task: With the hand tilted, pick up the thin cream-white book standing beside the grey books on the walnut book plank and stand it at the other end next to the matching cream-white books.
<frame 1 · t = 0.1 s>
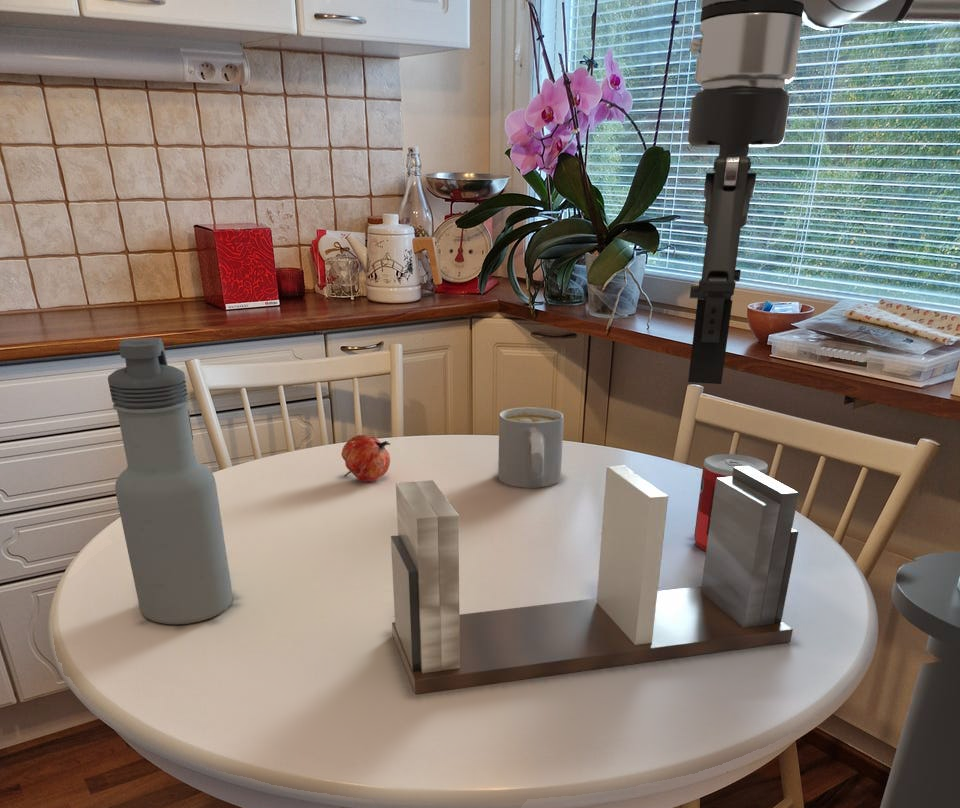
hand: (706, 368, 77), 26 cm above the table, tool pointing down, fingers open, 13 cm apart
book shelf: (590, 638, 87), on the table
pomegranate: (366, 481, 134), on the table
canned food: (723, 547, 110), on the table
coffee mug: (528, 482, 133), on the table
water bottle: (188, 607, 93), on the table
white book: (622, 621, 87), point 1 cm above the table, touching book shelf
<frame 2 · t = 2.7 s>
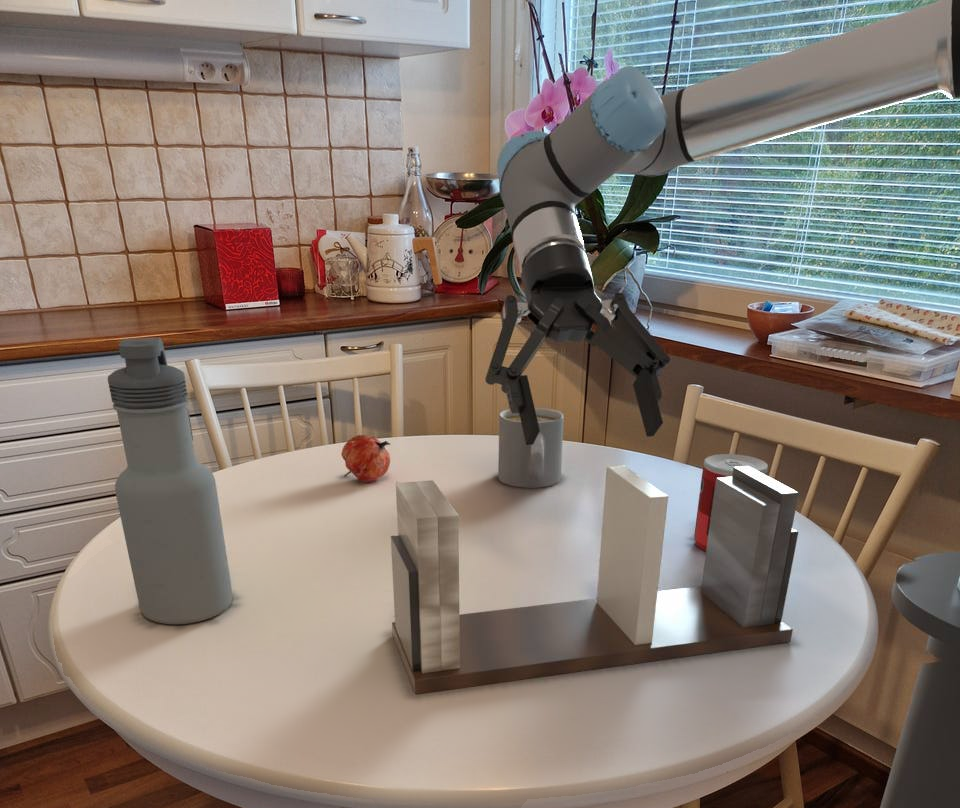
hand: (595, 434, 88), 18 cm above the table, tool tilted 45°, fingers open, 13 cm apart
nothing on the table moved.
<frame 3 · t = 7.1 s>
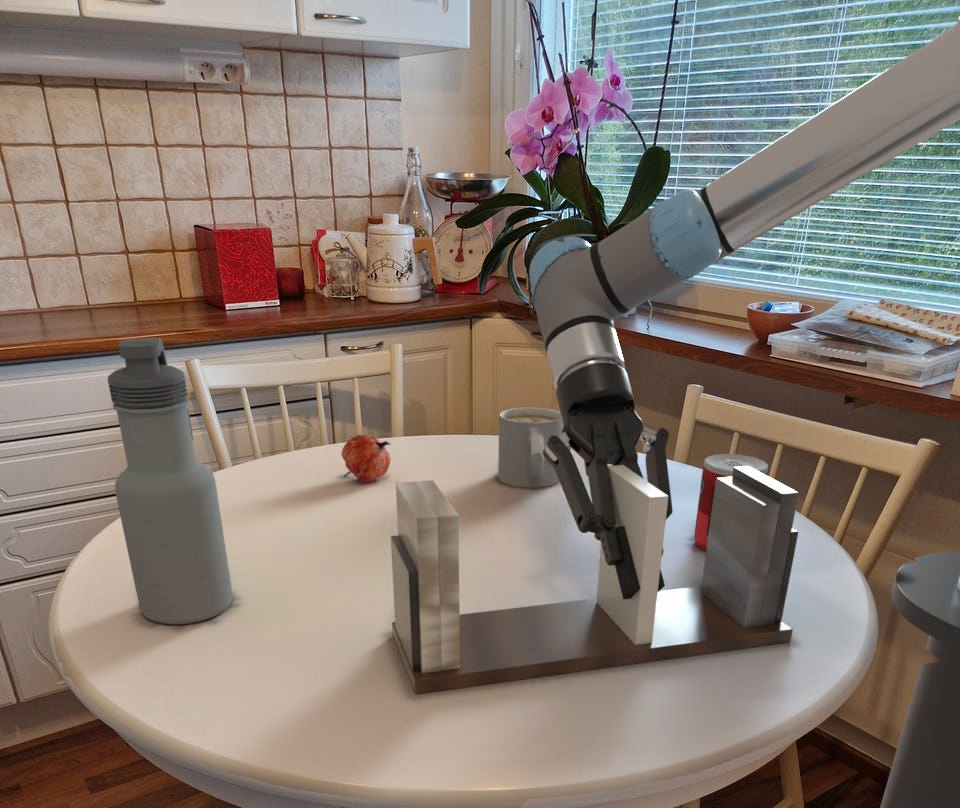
hand: (643, 592, 81), 7 cm above the table, tool tilted 45°, fingers closed on white book, 2 cm apart
white book: (622, 621, 87), point 1 cm above the table, touching book shelf, gripper
everything else where it was.
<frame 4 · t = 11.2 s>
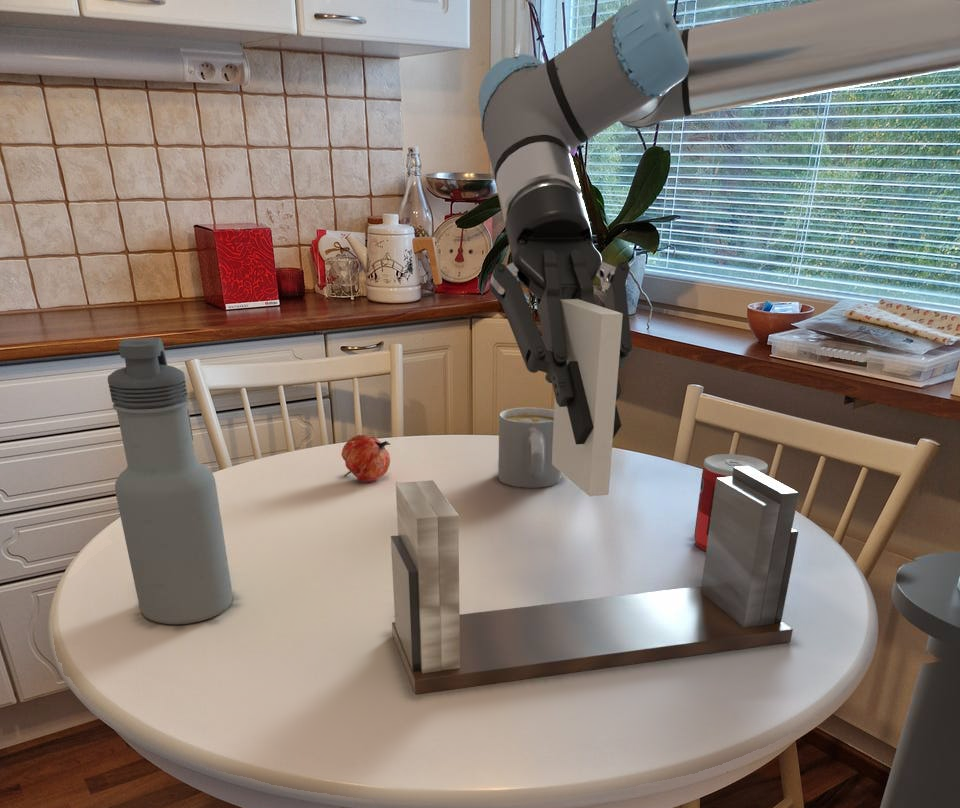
hand: (598, 434, 73), 22 cm above the table, tool tilted 45°, fingers closed on white book, 2 cm apart
white book: (578, 478, 78), point 17 cm above the table, touching gripper
everything else where it was.
when the fingers open (7 cm above the table, at t = 15.7 s): white book stays where it is, resting on book shelf.
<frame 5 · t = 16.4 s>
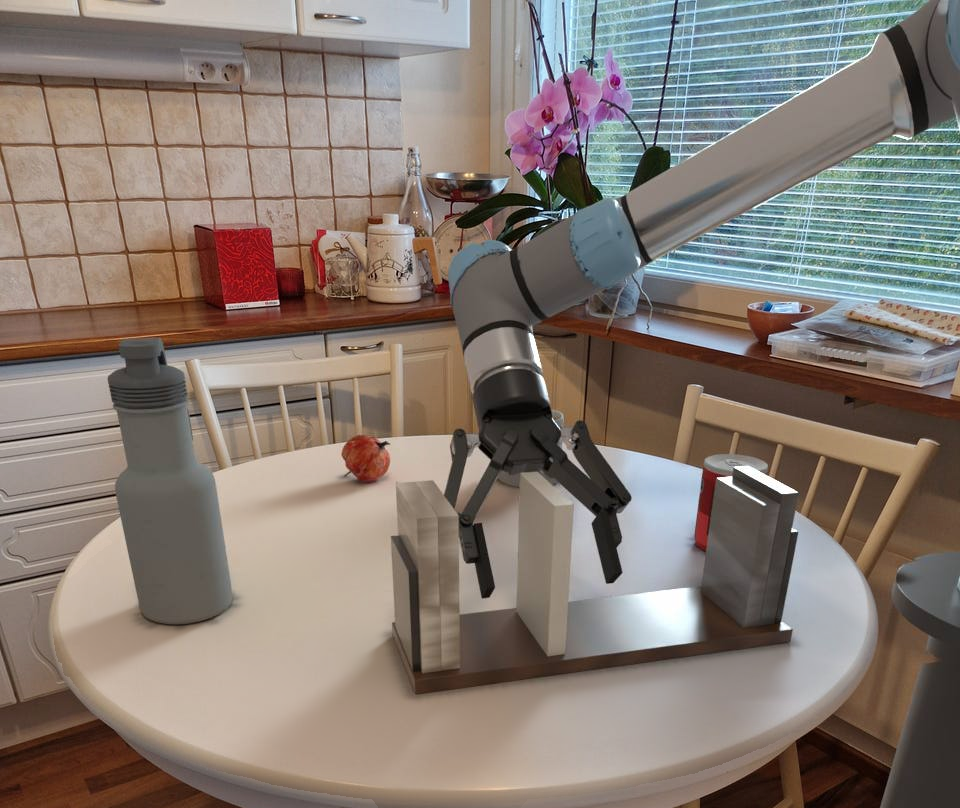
hand: (552, 586, 80), 8 cm above the table, tool tilted 45°, fingers open, 12 cm apart
white book: (539, 632, 85), point 1 cm above the table, touching book shelf
everything else where it was.
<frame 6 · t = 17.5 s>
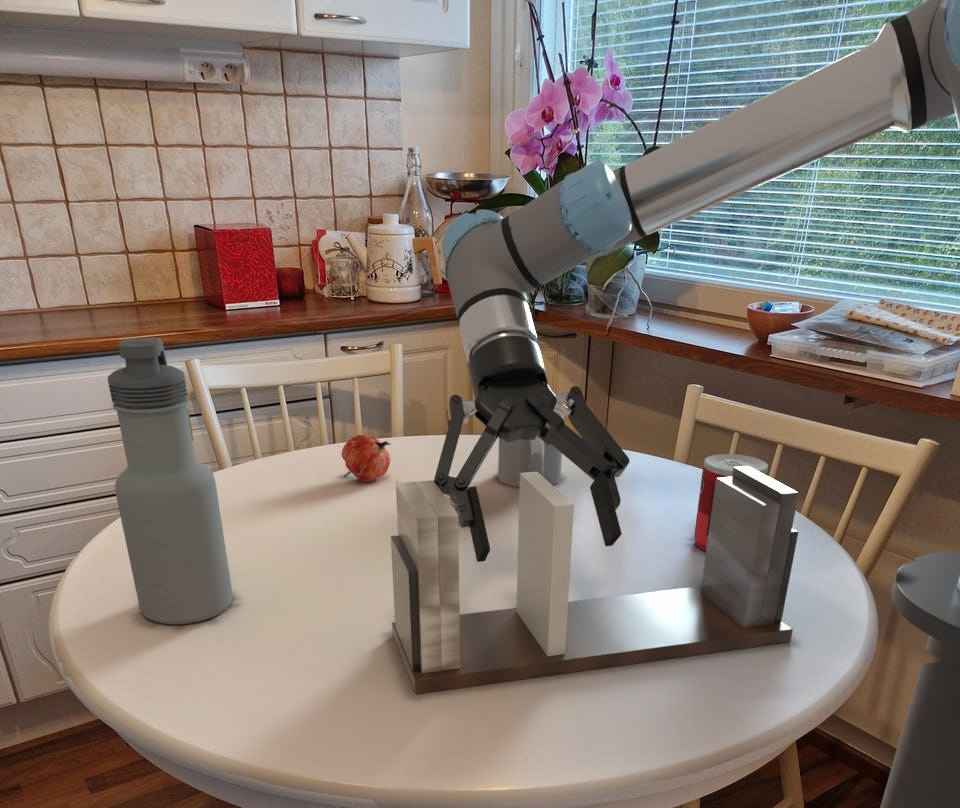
hand: (549, 548, 80), 11 cm above the table, tool tilted 45°, fingers open, 12 cm apart
nothing on the table moved.
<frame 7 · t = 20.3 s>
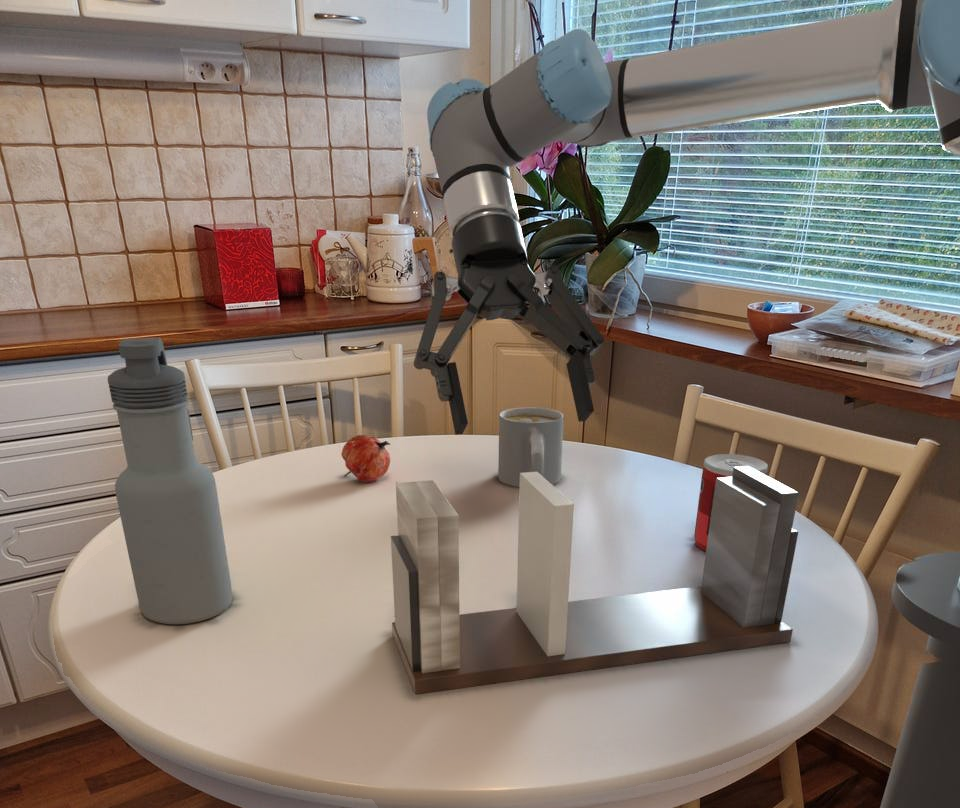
hand: (525, 423, 87), 20 cm above the table, tool tilted 35°, fingers open, 13 cm apart
nothing on the table moved.
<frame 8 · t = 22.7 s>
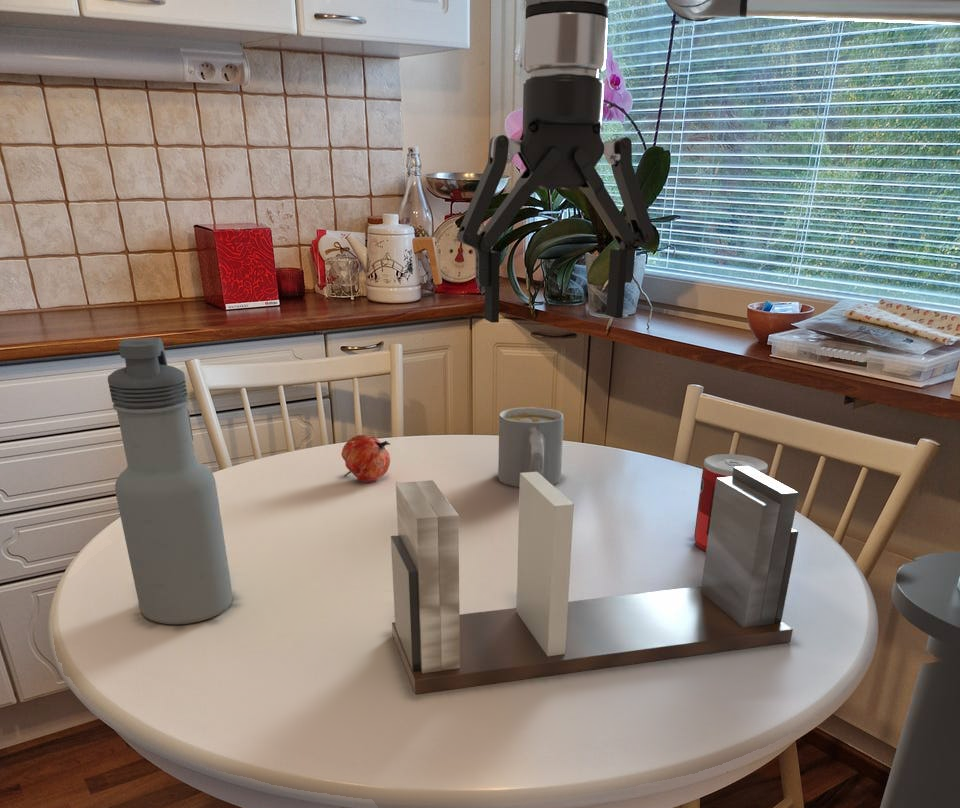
hand: (553, 319, 89), 29 cm above the table, tool pointing down, fingers open, 13 cm apart
nothing on the table moved.
at the end: white book 0.0 cm from the target spot on the book shelf, point 1.5 cm above the book shelf's base; white book tilted 0° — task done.
